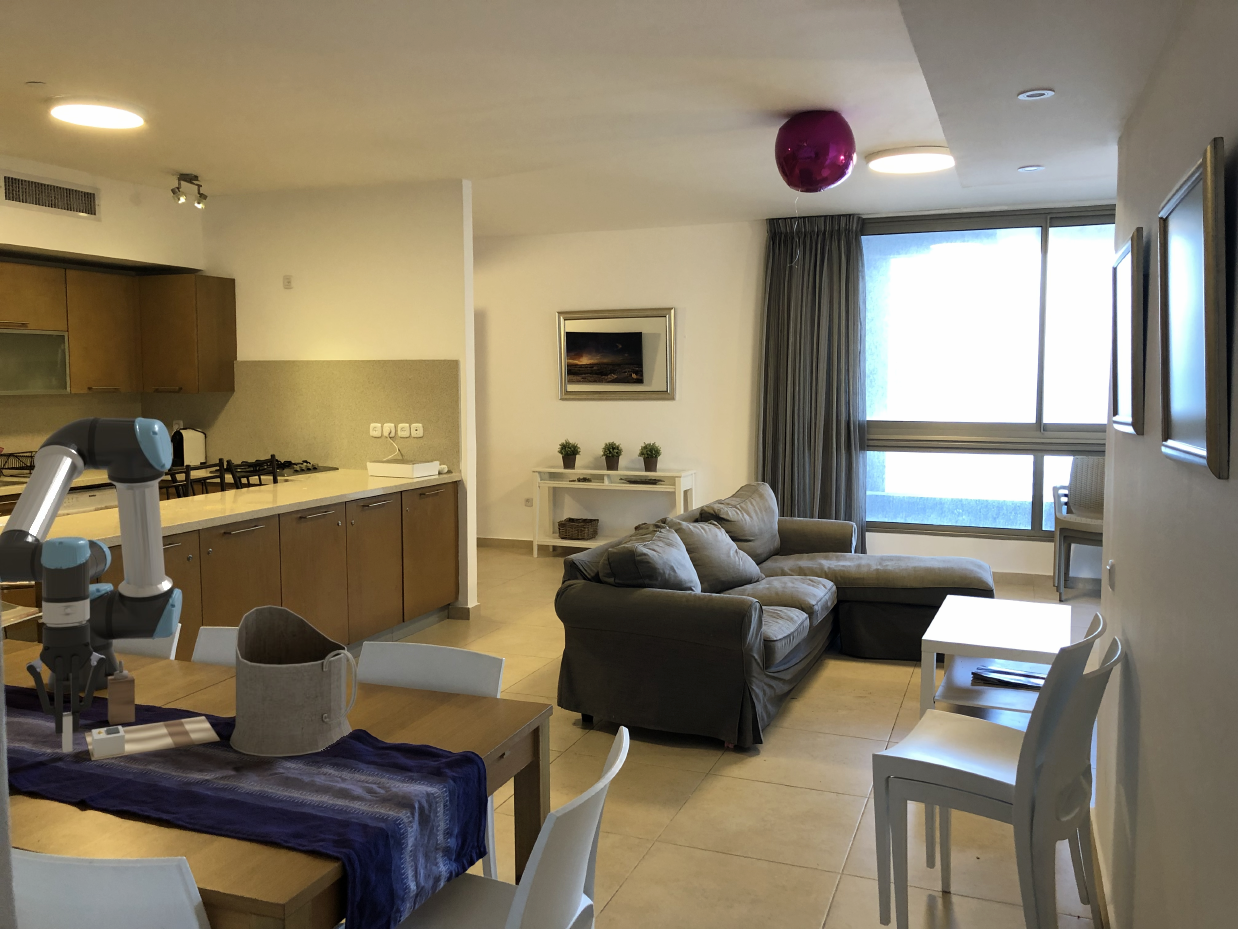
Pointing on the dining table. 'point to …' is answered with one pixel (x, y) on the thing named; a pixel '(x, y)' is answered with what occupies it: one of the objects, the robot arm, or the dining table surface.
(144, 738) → the subfloor panel
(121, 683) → the brown upright block
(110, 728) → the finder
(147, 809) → the dining table surface
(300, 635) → the pitcher
